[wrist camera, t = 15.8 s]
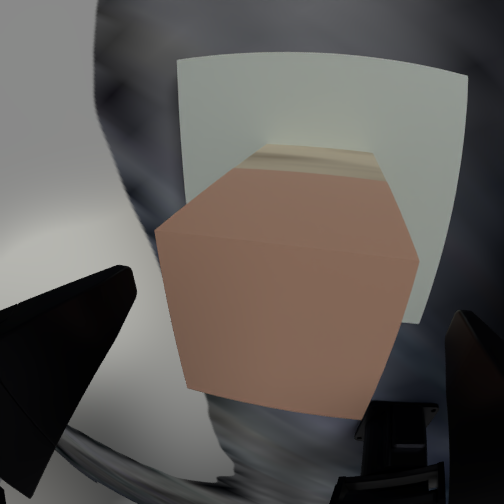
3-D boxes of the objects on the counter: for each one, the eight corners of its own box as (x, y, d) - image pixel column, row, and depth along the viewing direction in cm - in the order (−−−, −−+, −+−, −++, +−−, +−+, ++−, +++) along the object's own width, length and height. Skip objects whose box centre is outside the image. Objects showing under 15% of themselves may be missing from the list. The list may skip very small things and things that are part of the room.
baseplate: (415, 308, 18) (418, 323, 17) (205, 281, 22) (196, 294, 20) (457, 76, 11) (467, 76, 10) (189, 61, 15) (177, 59, 14)
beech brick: (361, 249, 16) (363, 309, 12) (266, 238, 17) (237, 292, 13) (372, 152, 13) (386, 182, 9) (266, 144, 15) (232, 168, 10)
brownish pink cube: (363, 309, 12) (361, 419, 7) (238, 292, 13) (187, 388, 9) (387, 181, 9) (419, 261, 5) (233, 168, 10) (154, 230, 6)
